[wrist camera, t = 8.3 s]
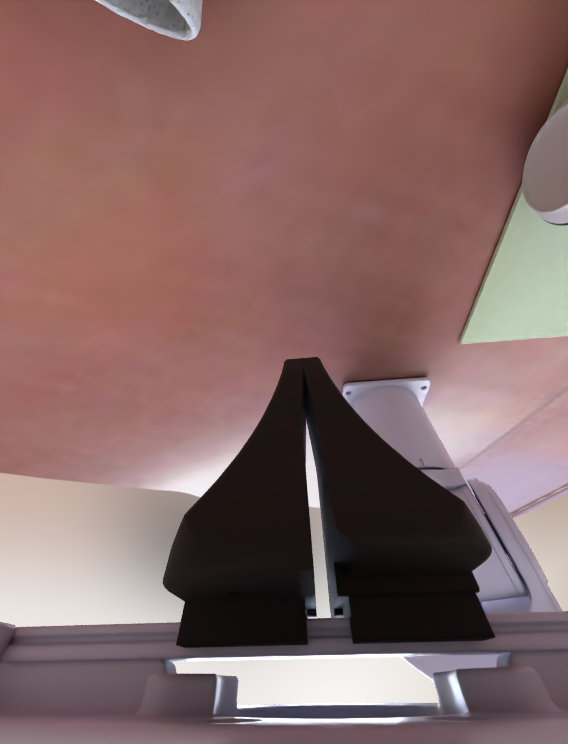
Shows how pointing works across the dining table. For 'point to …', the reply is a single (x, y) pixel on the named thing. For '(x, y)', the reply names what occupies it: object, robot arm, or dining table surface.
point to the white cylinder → (162, 15)
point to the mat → (524, 276)
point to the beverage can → (549, 170)
